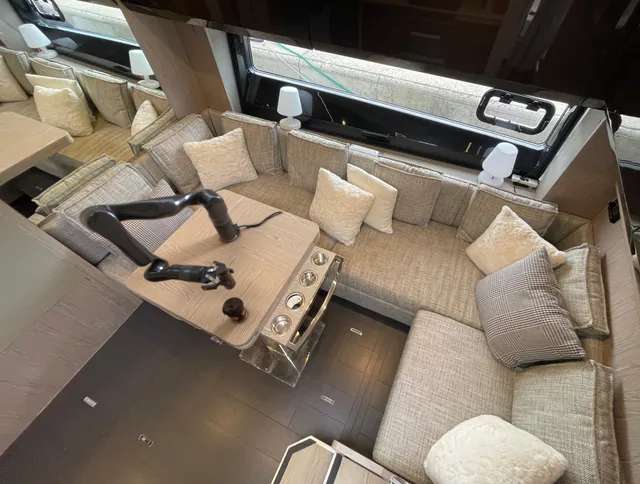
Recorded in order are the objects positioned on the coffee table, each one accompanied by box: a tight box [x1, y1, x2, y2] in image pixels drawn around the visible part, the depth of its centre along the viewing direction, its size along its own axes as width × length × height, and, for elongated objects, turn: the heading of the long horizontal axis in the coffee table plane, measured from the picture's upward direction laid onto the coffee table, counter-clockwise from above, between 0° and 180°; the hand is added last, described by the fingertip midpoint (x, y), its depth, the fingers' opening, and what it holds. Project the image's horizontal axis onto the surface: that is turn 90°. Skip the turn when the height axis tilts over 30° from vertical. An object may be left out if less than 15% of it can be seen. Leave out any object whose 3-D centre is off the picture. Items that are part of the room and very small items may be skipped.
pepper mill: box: [216, 266, 237, 291], centre depth 122 cm, size 5×5×14 cm
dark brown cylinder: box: [221, 296, 248, 323], centre depth 123 cm, size 9×8×13 cm
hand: (230, 277), depth 122 cm, fingers closed on pepper mill, 5 cm apart
